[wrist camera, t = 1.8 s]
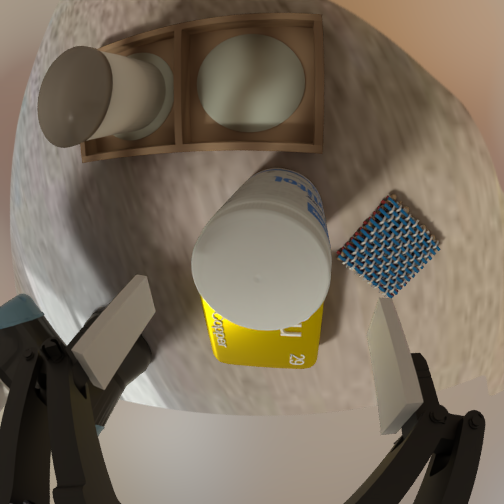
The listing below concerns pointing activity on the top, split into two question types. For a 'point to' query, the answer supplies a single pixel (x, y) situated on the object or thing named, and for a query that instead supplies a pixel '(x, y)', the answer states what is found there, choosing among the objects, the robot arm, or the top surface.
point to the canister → (97, 96)
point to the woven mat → (389, 248)
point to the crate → (228, 86)
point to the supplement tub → (266, 253)
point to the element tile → (264, 342)
